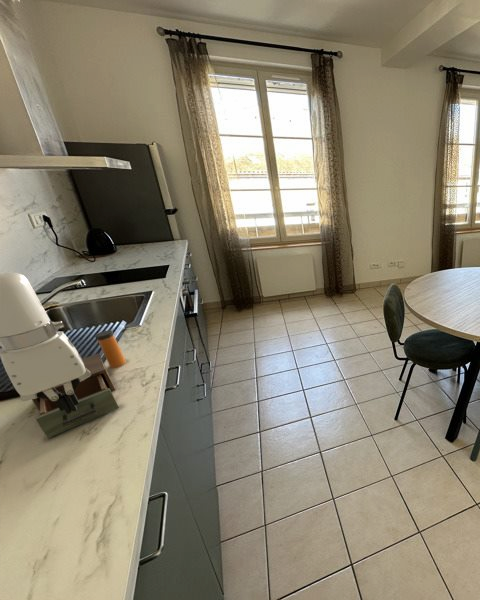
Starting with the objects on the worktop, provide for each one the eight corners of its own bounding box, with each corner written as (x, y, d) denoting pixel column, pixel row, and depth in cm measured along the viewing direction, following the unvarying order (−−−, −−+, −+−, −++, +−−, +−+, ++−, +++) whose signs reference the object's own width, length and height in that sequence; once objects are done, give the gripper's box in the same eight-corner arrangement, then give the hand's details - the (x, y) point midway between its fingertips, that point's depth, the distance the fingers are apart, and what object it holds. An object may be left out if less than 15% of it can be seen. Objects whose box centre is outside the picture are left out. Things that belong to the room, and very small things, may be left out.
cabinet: (116, 391, 93) (105, 369, 90) (45, 420, 84) (30, 396, 81) (109, 373, 102) (98, 353, 99) (43, 398, 93) (30, 376, 90)
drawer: (121, 415, 83) (112, 396, 80) (48, 447, 74) (35, 428, 72) (111, 388, 93) (103, 371, 91) (46, 414, 85) (35, 396, 82)
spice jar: (128, 365, 106) (113, 332, 101) (111, 371, 103) (95, 338, 99) (125, 360, 109) (111, 328, 104) (109, 366, 106) (94, 334, 101)
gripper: (77, 317, 71) (112, 385, 78) (-28, 346, 61) (23, 421, 69) (80, 326, 66) (117, 398, 74) (-34, 359, 57) (22, 439, 64)
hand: (71, 409), depth 71 cm, fingers closed
